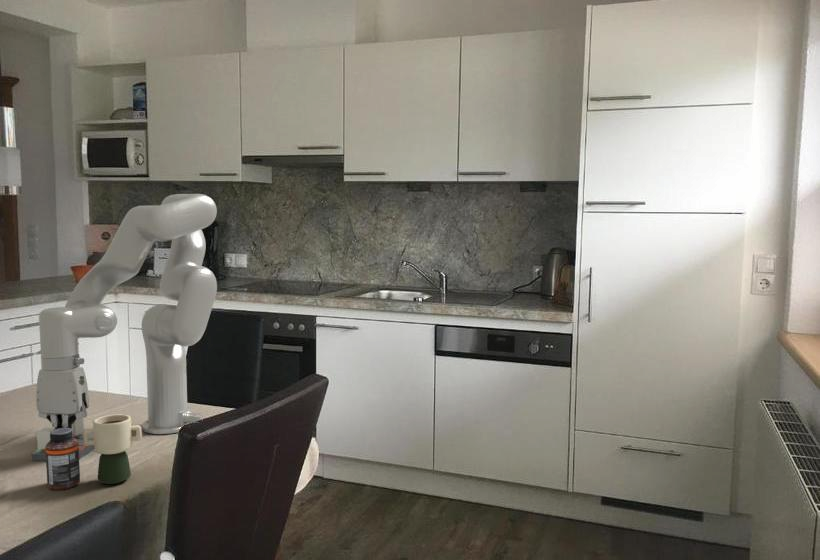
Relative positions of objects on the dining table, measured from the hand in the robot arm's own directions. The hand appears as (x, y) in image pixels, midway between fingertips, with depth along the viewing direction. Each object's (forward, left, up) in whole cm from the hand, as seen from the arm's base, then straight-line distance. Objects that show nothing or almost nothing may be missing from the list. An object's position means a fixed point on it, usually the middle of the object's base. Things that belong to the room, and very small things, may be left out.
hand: (64, 442), depth 153 cm
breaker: (+3, -9, -1) cm, 10 cm away
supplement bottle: (-9, +16, -3) cm, 19 cm away
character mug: (-18, +13, -3) cm, 23 cm away
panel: (+1, -5, -3) cm, 6 cm away
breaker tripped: (+4, 0, -1) cm, 4 cm away
